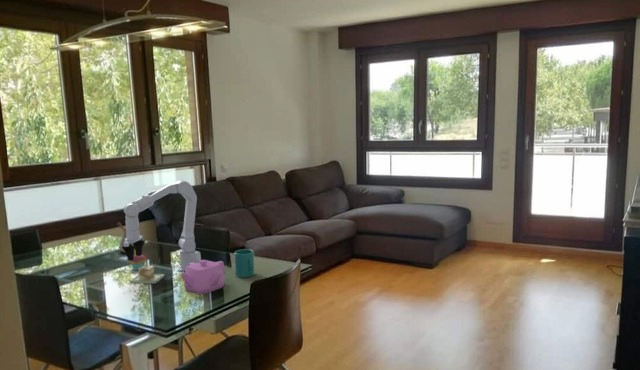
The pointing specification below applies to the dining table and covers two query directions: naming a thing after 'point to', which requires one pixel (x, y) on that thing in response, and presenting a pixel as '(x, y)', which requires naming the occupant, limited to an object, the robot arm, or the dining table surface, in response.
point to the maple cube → (146, 272)
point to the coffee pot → (123, 238)
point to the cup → (244, 263)
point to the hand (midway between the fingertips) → (134, 258)
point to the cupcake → (138, 261)
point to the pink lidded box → (204, 276)
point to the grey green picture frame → (152, 280)
